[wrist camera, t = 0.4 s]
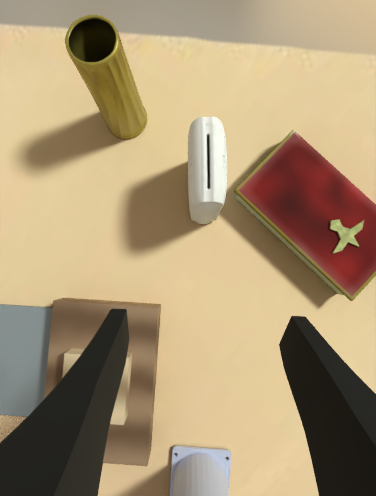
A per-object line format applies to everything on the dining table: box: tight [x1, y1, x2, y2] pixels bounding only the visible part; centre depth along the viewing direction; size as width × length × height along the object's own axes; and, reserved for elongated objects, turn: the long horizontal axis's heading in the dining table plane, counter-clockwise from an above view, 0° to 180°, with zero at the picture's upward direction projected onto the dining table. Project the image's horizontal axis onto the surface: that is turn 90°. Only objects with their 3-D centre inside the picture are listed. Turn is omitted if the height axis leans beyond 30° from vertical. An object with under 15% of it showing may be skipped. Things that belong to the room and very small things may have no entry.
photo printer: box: [188, 116, 227, 224], centre depth 33 cm, size 10×4×12 cm, turn 1°
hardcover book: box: [234, 130, 376, 301], centre depth 37 cm, size 12×21×4 cm, turn 46°
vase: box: [65, 15, 147, 139], centre depth 33 cm, size 6×6×14 cm
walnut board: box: [44, 298, 161, 466], centre depth 36 cm, size 20×14×3 cm
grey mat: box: [0, 304, 53, 417], centre depth 38 cm, size 15×10×1 cm, turn 176°
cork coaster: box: [62, 348, 132, 425], centre depth 34 cm, size 8×8×2 cm
